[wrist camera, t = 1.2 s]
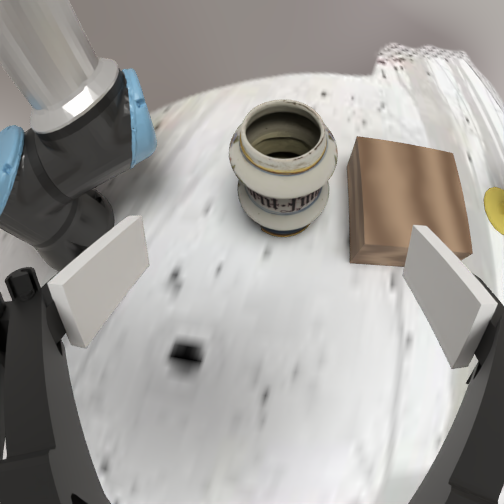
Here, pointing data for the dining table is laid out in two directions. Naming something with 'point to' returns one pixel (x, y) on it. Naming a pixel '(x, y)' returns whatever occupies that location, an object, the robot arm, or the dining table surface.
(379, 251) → the walnut stand
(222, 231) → the dining table surface
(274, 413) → the dining table surface
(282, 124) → the apothecary jar
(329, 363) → the dining table surface
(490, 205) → the rod with yellow discs
